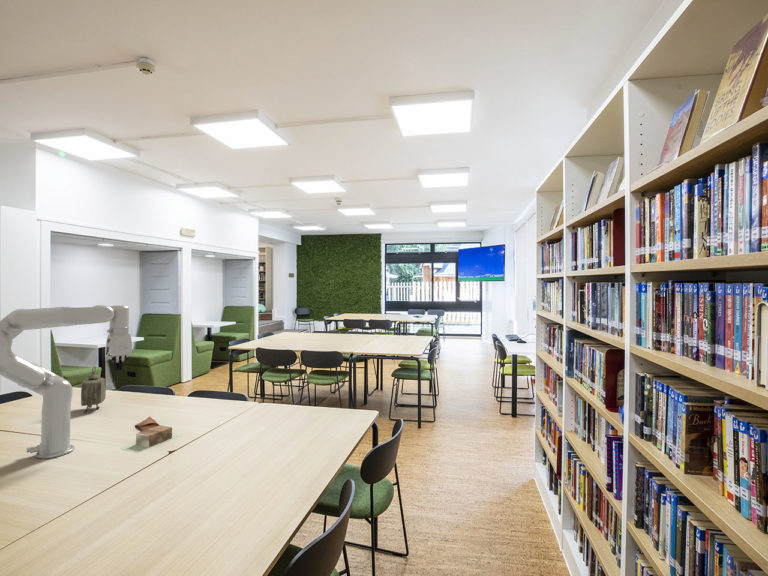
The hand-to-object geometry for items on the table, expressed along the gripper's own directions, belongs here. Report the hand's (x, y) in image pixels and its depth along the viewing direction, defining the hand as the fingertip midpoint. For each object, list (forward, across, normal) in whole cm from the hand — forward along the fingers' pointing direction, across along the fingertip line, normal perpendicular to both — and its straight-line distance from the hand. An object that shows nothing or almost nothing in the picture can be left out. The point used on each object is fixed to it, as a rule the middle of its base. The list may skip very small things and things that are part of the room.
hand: (118, 370), depth 185 cm
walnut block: (+29, -2, -20) cm, 36 cm away
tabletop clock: (+32, +24, +56) cm, 69 cm away
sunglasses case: (+33, +15, -1) cm, 36 cm away
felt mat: (+32, +3, -20) cm, 38 cm away
